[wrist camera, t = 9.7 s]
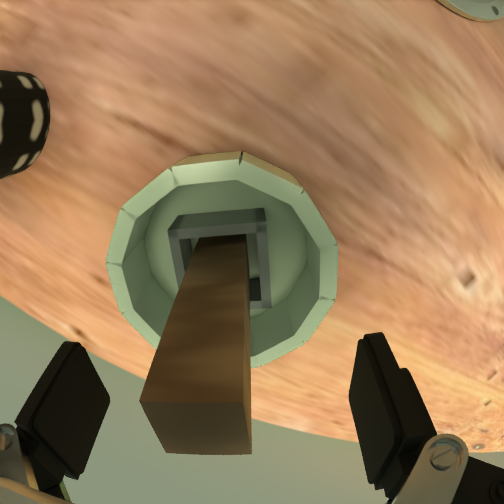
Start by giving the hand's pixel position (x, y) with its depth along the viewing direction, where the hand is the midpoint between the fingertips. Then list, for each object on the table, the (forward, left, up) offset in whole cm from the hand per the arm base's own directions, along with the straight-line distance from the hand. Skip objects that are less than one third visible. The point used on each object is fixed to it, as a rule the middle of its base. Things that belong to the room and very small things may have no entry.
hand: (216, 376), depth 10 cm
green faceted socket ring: (+1, +1, -13) cm, 13 cm away
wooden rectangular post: (+1, +1, -12) cm, 12 cm away
